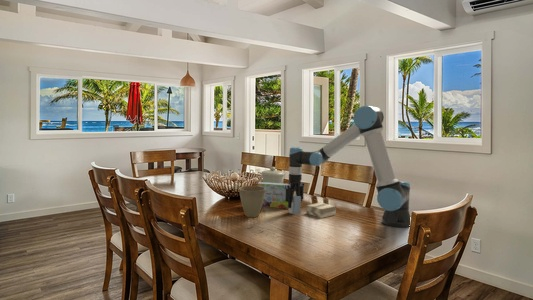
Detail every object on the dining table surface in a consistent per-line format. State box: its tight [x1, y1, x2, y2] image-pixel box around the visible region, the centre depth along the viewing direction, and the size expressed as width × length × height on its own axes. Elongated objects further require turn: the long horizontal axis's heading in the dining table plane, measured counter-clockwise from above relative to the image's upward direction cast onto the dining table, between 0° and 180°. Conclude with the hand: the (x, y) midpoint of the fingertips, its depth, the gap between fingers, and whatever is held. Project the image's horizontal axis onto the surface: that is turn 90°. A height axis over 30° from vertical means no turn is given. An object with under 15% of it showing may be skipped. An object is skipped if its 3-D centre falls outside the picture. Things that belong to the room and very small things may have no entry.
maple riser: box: [306, 201, 337, 219], centre depth 202 cm, size 12×12×5 cm
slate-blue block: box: [292, 194, 302, 215], centre depth 203 cm, size 5×5×10 cm
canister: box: [260, 166, 286, 184], centre depth 251 cm, size 18×18×21 cm
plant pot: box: [238, 185, 265, 218], centre depth 196 cm, size 15×15×16 cm
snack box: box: [256, 181, 289, 210], centre depth 218 cm, size 21×6×15 cm, turn 76°
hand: (294, 212), depth 204 cm, fingers closed on slate-blue block, 5 cm apart
